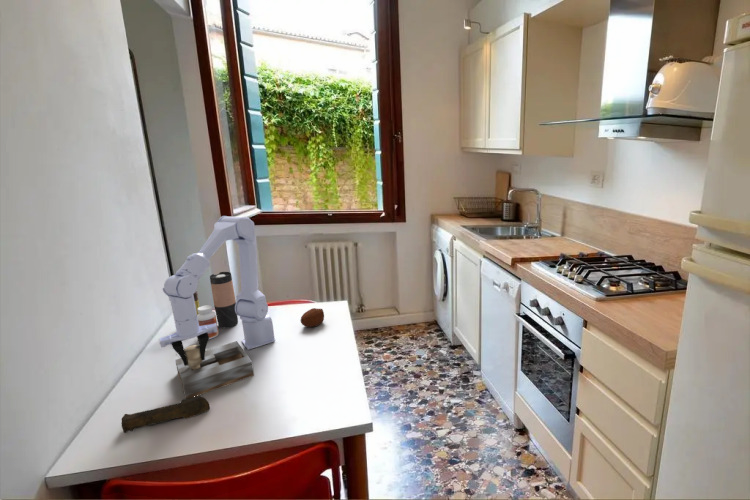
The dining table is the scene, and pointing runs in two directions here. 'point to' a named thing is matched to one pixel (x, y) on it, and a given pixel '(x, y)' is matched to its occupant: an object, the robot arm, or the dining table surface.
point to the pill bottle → (207, 318)
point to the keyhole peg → (193, 356)
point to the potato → (312, 317)
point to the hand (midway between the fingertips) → (194, 361)
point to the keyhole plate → (215, 370)
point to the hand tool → (165, 413)
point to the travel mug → (224, 299)
